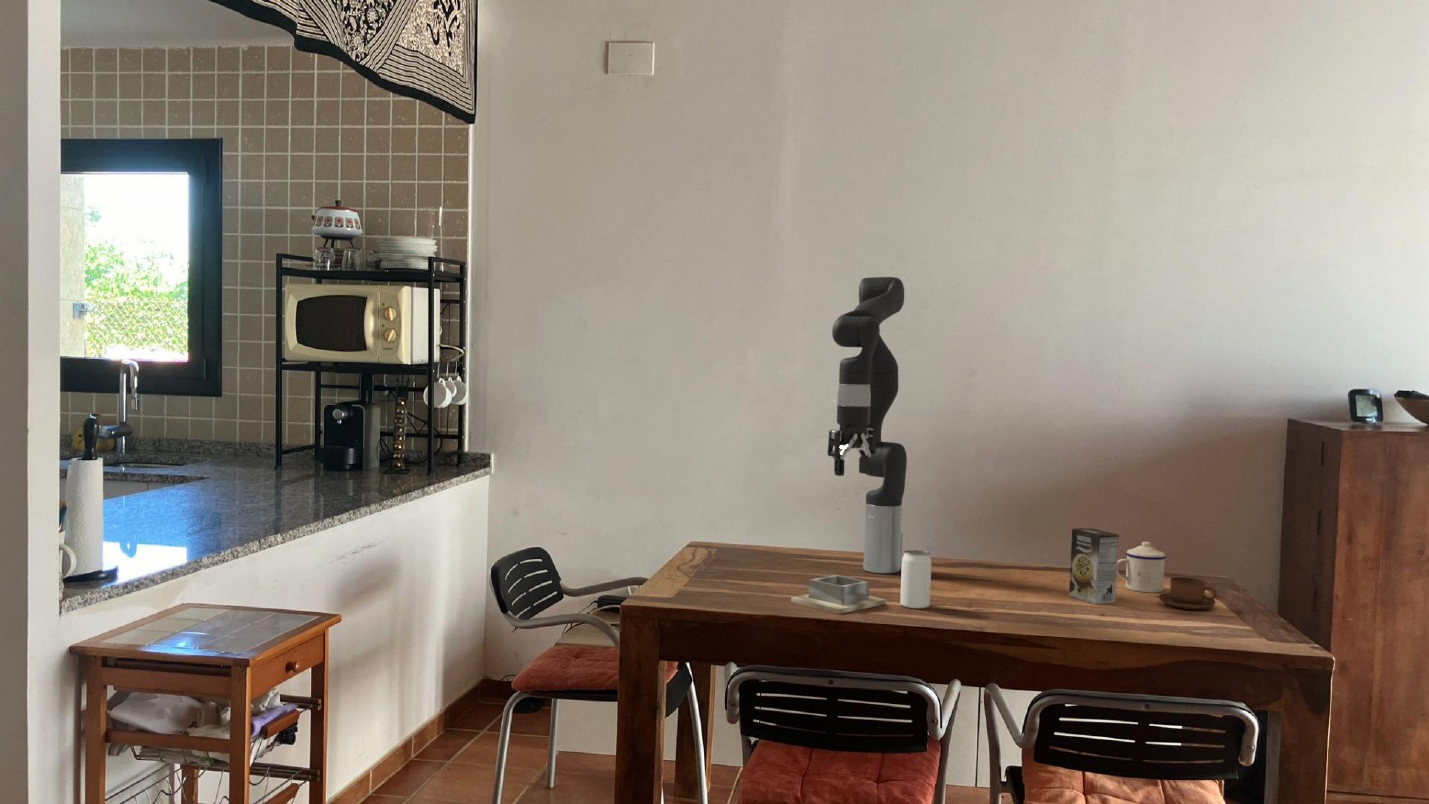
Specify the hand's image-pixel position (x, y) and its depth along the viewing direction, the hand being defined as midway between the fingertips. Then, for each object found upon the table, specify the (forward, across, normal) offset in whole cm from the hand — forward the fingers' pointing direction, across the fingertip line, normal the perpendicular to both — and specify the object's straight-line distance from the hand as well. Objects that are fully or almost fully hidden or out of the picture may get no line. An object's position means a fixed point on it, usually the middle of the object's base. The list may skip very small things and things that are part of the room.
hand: (851, 474), depth 256 cm
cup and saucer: (+29, -56, +54) cm, 83 cm away
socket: (+28, +8, +4) cm, 29 cm away
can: (+28, -4, +16) cm, 33 cm away
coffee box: (+28, -44, +37) cm, 64 cm away
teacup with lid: (+28, -65, +38) cm, 81 cm away
